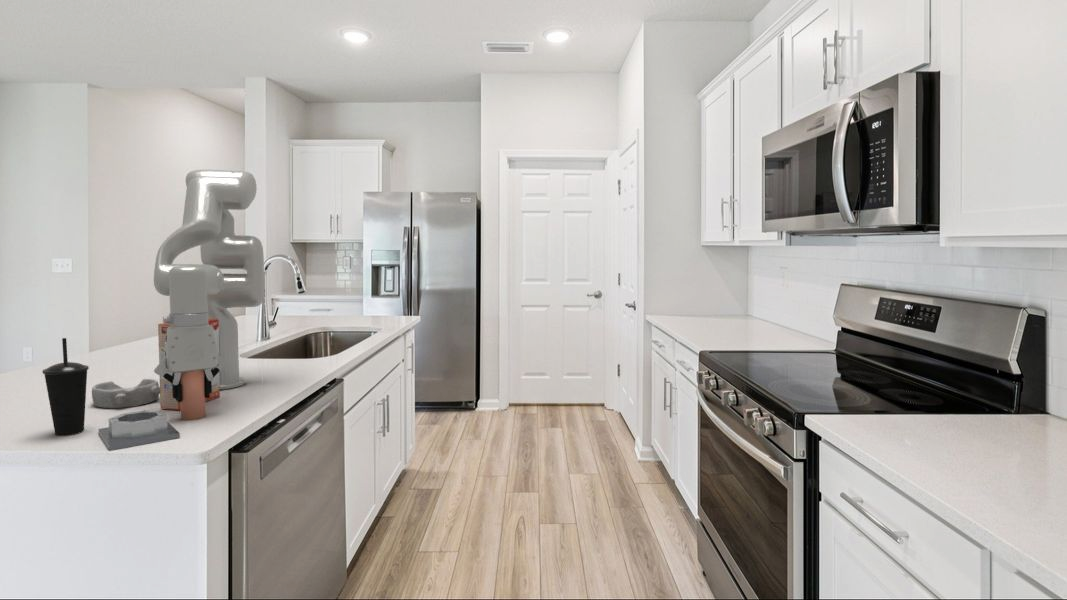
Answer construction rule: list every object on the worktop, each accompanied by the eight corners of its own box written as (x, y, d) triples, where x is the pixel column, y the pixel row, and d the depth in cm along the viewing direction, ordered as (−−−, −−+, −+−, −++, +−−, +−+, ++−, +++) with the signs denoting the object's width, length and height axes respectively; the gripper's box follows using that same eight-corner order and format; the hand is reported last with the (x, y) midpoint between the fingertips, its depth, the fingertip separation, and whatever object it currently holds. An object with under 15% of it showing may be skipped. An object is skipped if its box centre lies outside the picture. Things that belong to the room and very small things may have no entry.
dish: (87, 402, 151) (85, 383, 151) (150, 393, 161) (149, 375, 161) (101, 414, 142) (100, 393, 141) (167, 403, 152) (166, 383, 151)
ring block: (98, 433, 126) (97, 414, 126) (164, 422, 134) (163, 405, 134) (109, 450, 116) (108, 430, 116) (179, 437, 124) (179, 418, 124)
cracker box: (180, 411, 144) (177, 324, 142) (159, 409, 145) (155, 323, 143) (222, 397, 158) (219, 317, 156) (202, 395, 159) (199, 317, 157)
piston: (178, 416, 139) (176, 362, 138) (202, 412, 143) (200, 360, 142) (183, 421, 136) (181, 366, 135) (208, 417, 139) (206, 363, 138)
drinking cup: (62, 427, 131) (57, 335, 129) (100, 426, 131) (95, 335, 129) (36, 438, 123) (30, 341, 121) (76, 437, 124) (71, 341, 122)
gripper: (149, 325, 129) (153, 408, 130) (234, 319, 140) (237, 396, 142) (142, 321, 134) (146, 401, 136) (225, 316, 146) (227, 390, 147)
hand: (192, 398), depth 139 cm, fingers closed on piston, 5 cm apart
